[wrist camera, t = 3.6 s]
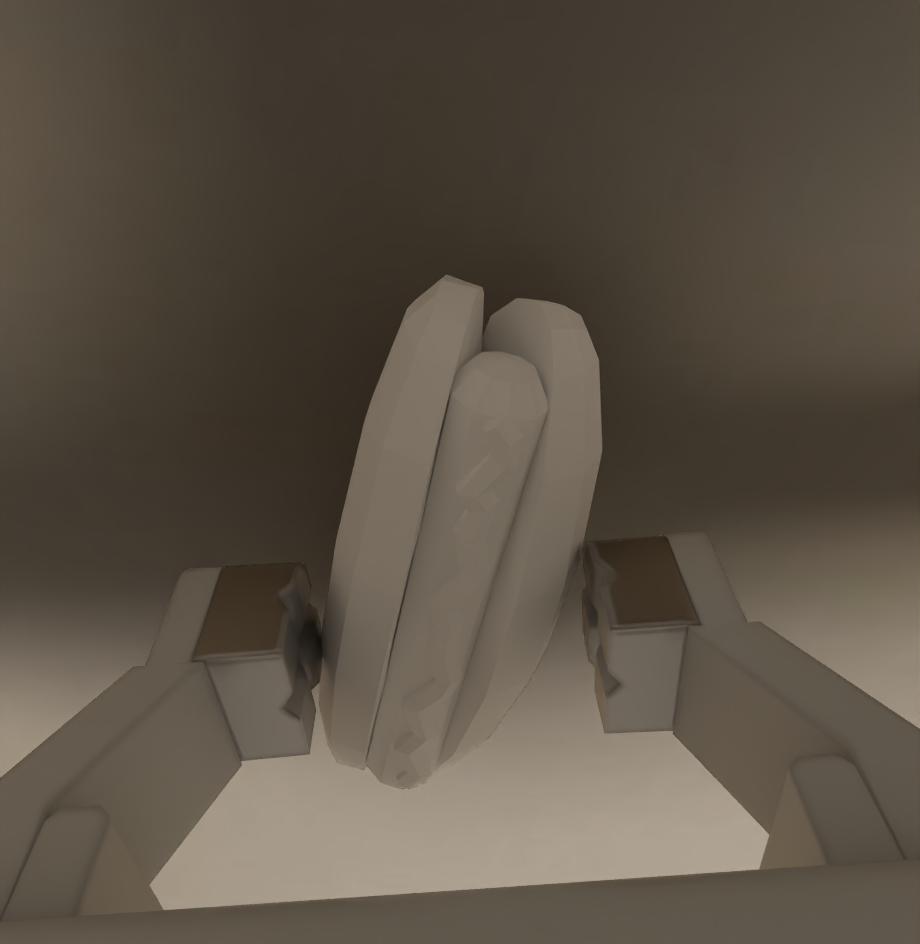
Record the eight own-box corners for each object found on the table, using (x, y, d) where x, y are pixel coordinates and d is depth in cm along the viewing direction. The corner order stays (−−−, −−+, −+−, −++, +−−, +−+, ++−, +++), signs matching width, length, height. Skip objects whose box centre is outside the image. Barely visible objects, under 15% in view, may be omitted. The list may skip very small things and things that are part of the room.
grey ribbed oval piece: (314, 677, 14) (291, 831, 11) (382, 226, 9) (368, 329, 7) (489, 696, 14) (501, 848, 12) (635, 275, 10) (700, 388, 7)
